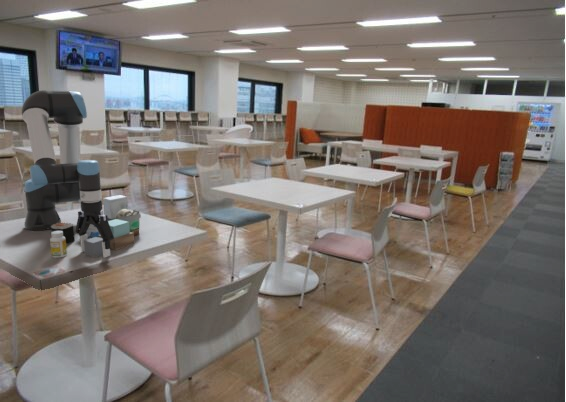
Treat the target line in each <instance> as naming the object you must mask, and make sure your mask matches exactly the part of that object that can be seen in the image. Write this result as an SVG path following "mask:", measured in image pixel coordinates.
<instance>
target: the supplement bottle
mask: <svg viewBox="0 0 566 402" xmlns="http://www.w3.org/2000/svg"><path fill="white" fill-rule="evenodd" d="M50 232H51V231H50ZM50 235H51V236H50V238H49V246H50V254H51V257H52V258H59V259H60V258H63V257H65V256H67V254H68V251H67V249H68V248H67V244H66V238H65V237H64V236H63V231H53V232H51V233H50Z"/></svg>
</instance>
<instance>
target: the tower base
mask: <svg viewBox="0 0 566 402" xmlns="http://www.w3.org/2000/svg"><path fill="white" fill-rule="evenodd" d="M98 237H99V238H102V237H101V235H98ZM105 238H106V237H105ZM133 244H135V236H134V233H132V232H130V233H129V234H126V235H123V236H120V237H117V238H114V239H112V240H110V250H113V251H118V250H120V249H122V248H126V247H128V246H130V245H133Z"/></svg>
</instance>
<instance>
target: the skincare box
mask: <svg viewBox="0 0 566 402" xmlns="http://www.w3.org/2000/svg"><path fill="white" fill-rule="evenodd" d="M102 207H103V215H107V218H108V219H109V220H114V219H116V215H117V213H118V212H119V211H120V210H122V209H128V196H125V195H122V194H119V195H118V194H117V195H112V196H107V197H102ZM128 210H129V209H128Z"/></svg>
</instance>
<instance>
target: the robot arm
mask: <svg viewBox="0 0 566 402" xmlns="http://www.w3.org/2000/svg"><path fill="white" fill-rule="evenodd" d="M21 106H22V108H21V116H22V120H23V121H24V122H25V123H26V127H27V132H28V138H29V143H30V147H31V148H30V149H31V153H32V159H33V163H34V165H30V166H29V174H30V179H28V180H26V181H25V182H24V193H25V202H26V216H25V220H24V229H25V230H28V231H43V230H45V231H47V230H51V226H52V225H54V224H56V223H62V219H61V217H60V215H59V213H58V211H57V209H56V204H62V203H64V204H65V203H71V202H80V211H78V212H77V216H78V217H77V221H76V225H75V229H74V233H75V234H78V235H79V242H80V249H81V252H82V253H83V252H84V253H85V247H84V240H87V239H89V238H88V236H87V234H86V233H87V230H88V228H89V226H90V224H92V225H94V226H95V227H96V228H97V230H98V231H99V233H100V235H101V237H102V239H103V241H102V248H103V255H102V257H103V258H104V259H106V258H107V257H111V249H110V240H112V239H114V236H113V234H112V231H111V228H110V225H109V223H108V221H109V220H108V219H109V218H107V215H104V214H103V215H101V211H103V197H102V196H103V195H102V187H101V185H102V184H101V174H100V172H101V169H100V164H99V161H98V160H94V159H82V160H81V158H82V157H81V136H80V126H82V124H83V123H84V121H83V120H84V119H86V118H87V116H88V114H87V113H88V112H87V108H86V107H87V106H86V103H85V100H84V97H83V95H82V93H80V91H71V90H44V89H43V90H38V91H35V92H33V93H31V94H30V95H29V96H28V97H27V98H26V99H25V101H24V102H23V104H22V105H21ZM49 119H53V122H54V123H55V124H56V125H57V126H58V127H57V128H58V144H59V145H58V146H59V159H60V161H59V162H60V163H57V158H56V153H55V150H54V146H53V145H54V144H53V141H52V137H51V131H50V127H49V122H48V121H49ZM99 222H100V223H99ZM105 237H106V238H105Z"/></svg>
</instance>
